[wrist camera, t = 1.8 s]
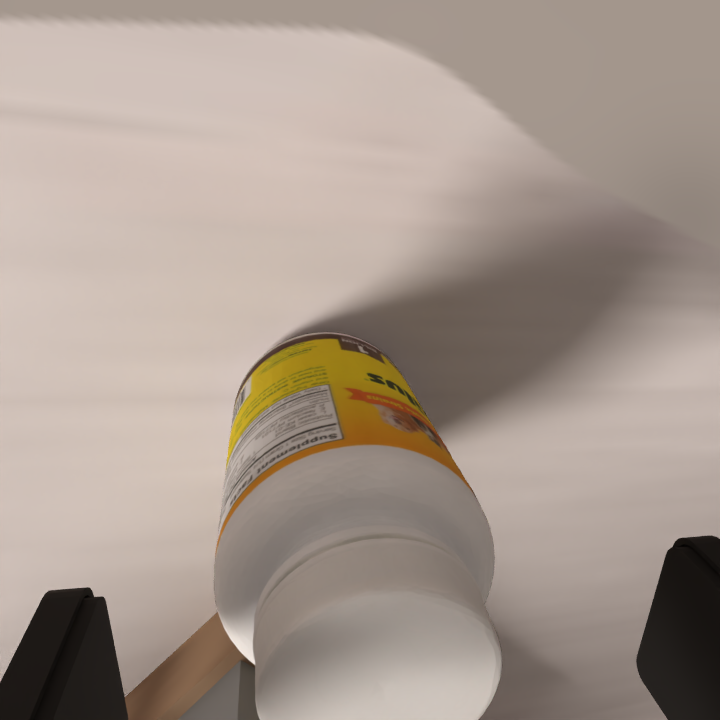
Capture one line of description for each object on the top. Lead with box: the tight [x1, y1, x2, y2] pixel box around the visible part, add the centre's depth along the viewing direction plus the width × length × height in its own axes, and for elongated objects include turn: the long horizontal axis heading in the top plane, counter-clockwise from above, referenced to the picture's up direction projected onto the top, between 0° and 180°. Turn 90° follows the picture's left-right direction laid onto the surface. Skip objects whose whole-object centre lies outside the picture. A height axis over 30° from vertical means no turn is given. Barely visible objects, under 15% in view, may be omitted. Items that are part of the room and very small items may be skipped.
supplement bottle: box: [214, 332, 502, 720], centre depth 13 cm, size 6×6×10 cm
